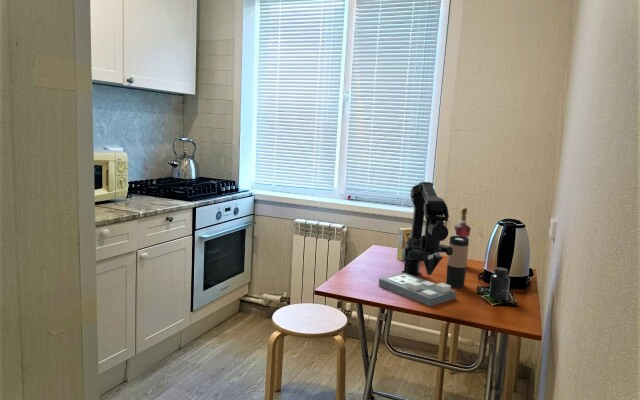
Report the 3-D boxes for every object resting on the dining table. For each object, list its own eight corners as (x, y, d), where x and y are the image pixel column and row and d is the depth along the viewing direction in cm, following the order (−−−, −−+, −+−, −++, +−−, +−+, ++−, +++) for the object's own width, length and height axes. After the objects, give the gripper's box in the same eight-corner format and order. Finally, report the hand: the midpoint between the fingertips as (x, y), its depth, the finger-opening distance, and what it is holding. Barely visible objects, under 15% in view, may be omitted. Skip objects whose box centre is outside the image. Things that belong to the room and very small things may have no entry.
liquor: (449, 263, 225) (454, 206, 221) (464, 264, 225) (470, 207, 221) (452, 267, 218) (457, 208, 214) (468, 269, 218) (474, 209, 213)
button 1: (413, 288, 181) (414, 280, 181) (421, 292, 178) (422, 283, 178) (406, 290, 179) (407, 282, 178) (414, 293, 176) (415, 285, 175)
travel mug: (451, 280, 199) (455, 235, 196) (468, 285, 194) (472, 238, 191) (441, 284, 194) (446, 237, 191) (458, 289, 188) (463, 241, 185)
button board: (403, 279, 198) (404, 272, 197) (455, 298, 178) (456, 290, 177) (378, 285, 189) (379, 277, 188) (430, 306, 169) (430, 297, 168)
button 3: (427, 297, 176) (428, 289, 176) (436, 301, 173) (437, 292, 172) (420, 299, 174) (421, 291, 173) (429, 303, 171) (430, 294, 170)
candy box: (411, 257, 233) (414, 227, 231) (416, 259, 230) (419, 229, 227) (396, 258, 230) (398, 228, 228) (401, 260, 226) (403, 229, 224)
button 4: (441, 290, 181) (442, 282, 180) (450, 293, 178) (450, 285, 177) (434, 292, 178) (435, 284, 178) (443, 295, 175) (444, 287, 175)
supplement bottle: (505, 303, 175) (509, 272, 173) (486, 299, 179) (489, 269, 177) (509, 298, 181) (512, 268, 179) (490, 294, 184) (493, 265, 182)
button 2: (426, 288, 186) (427, 280, 186) (434, 291, 183) (435, 283, 183) (420, 290, 184) (420, 282, 183) (428, 293, 181) (429, 285, 180)
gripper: (431, 226, 183) (428, 265, 186) (398, 232, 172) (395, 272, 174) (455, 232, 174) (451, 273, 177) (422, 238, 163) (419, 281, 166)
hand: (429, 274), depth 174 cm, fingers closed
